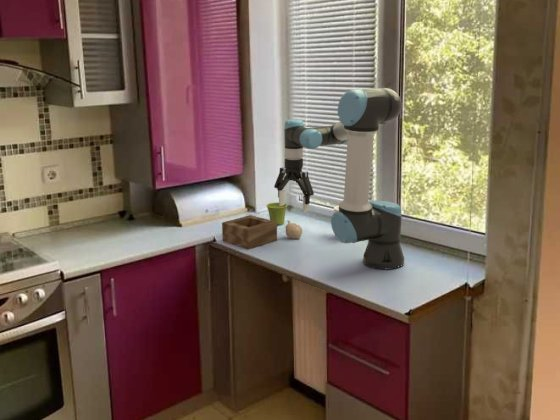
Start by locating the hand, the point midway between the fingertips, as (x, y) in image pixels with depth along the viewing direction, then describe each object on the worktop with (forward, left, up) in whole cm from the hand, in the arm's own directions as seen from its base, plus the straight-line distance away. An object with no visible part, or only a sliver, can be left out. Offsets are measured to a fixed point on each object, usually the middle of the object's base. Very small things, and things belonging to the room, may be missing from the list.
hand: (293, 208), depth 267 cm
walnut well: (+11, +15, -13) cm, 22 cm away
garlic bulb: (0, 0, -13) cm, 13 cm away
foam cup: (-15, -15, -13) cm, 25 cm away
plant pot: (+21, -11, -13) cm, 27 cm away
